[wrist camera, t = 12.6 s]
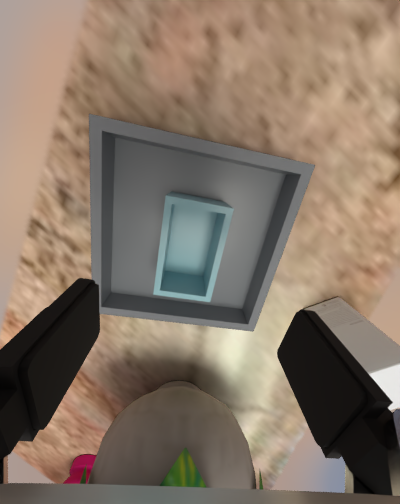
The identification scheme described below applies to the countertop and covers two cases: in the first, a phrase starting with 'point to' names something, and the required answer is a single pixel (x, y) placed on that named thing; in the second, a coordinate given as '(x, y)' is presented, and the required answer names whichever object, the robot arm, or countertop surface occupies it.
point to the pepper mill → (80, 469)
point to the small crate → (191, 246)
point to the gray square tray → (151, 216)
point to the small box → (364, 344)
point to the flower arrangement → (175, 443)
